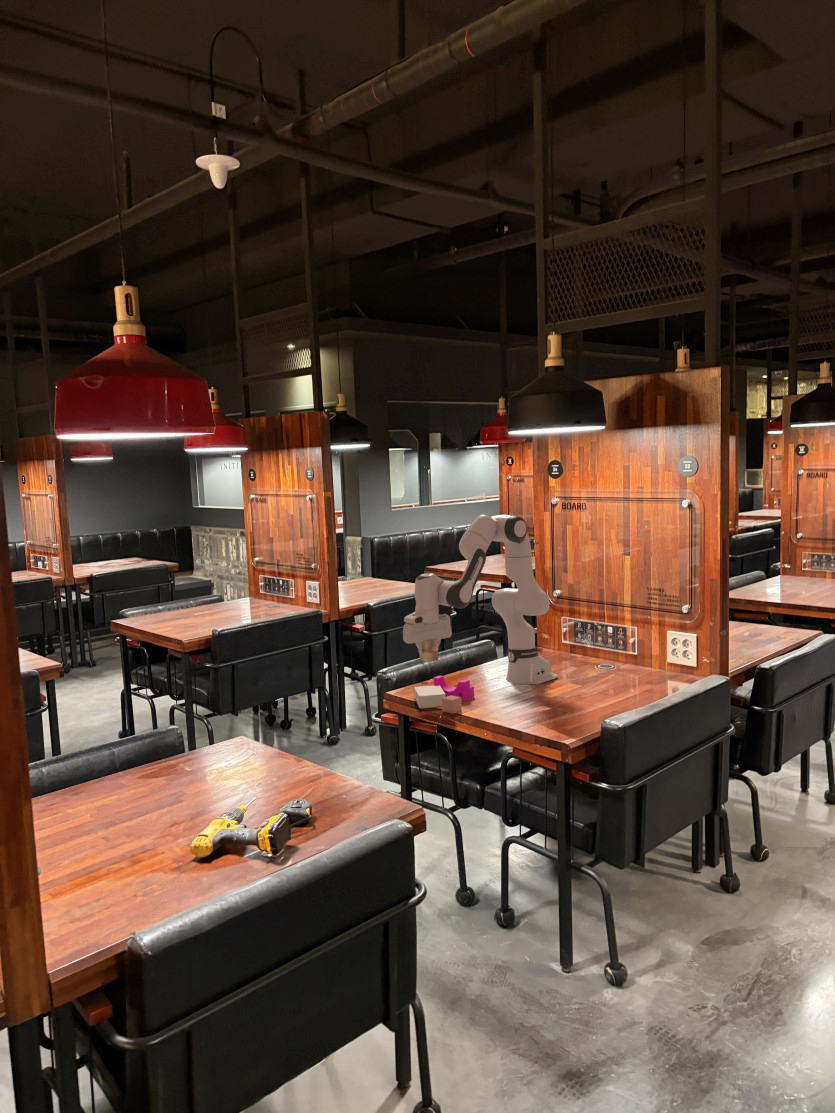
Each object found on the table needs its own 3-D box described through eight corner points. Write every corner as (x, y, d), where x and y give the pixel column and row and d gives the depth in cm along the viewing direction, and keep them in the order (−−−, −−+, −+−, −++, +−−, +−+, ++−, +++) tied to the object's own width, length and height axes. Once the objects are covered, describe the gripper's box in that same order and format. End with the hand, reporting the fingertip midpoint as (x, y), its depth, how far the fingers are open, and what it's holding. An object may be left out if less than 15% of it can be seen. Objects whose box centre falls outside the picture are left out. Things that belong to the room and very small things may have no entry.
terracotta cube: (451, 708, 298) (450, 695, 297) (461, 710, 294) (461, 697, 294) (442, 711, 294) (442, 698, 294) (452, 713, 291) (452, 700, 290)
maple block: (430, 658, 308) (430, 637, 308) (438, 660, 304) (437, 639, 304) (419, 660, 306) (419, 639, 305) (427, 662, 302) (426, 641, 301)
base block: (439, 697, 314) (439, 685, 314) (445, 707, 301) (445, 694, 300) (414, 699, 313) (414, 687, 313) (419, 709, 299) (419, 696, 299)
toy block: (474, 697, 311) (473, 678, 311) (464, 701, 307) (463, 682, 306) (444, 692, 321) (443, 674, 320) (434, 696, 316) (433, 677, 316)
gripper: (445, 612, 312) (446, 647, 313) (400, 618, 301) (401, 654, 302) (454, 614, 307) (455, 649, 308) (409, 620, 296) (410, 657, 297)
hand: (428, 652), depth 305 cm, fingers closed on maple block, 5 cm apart
